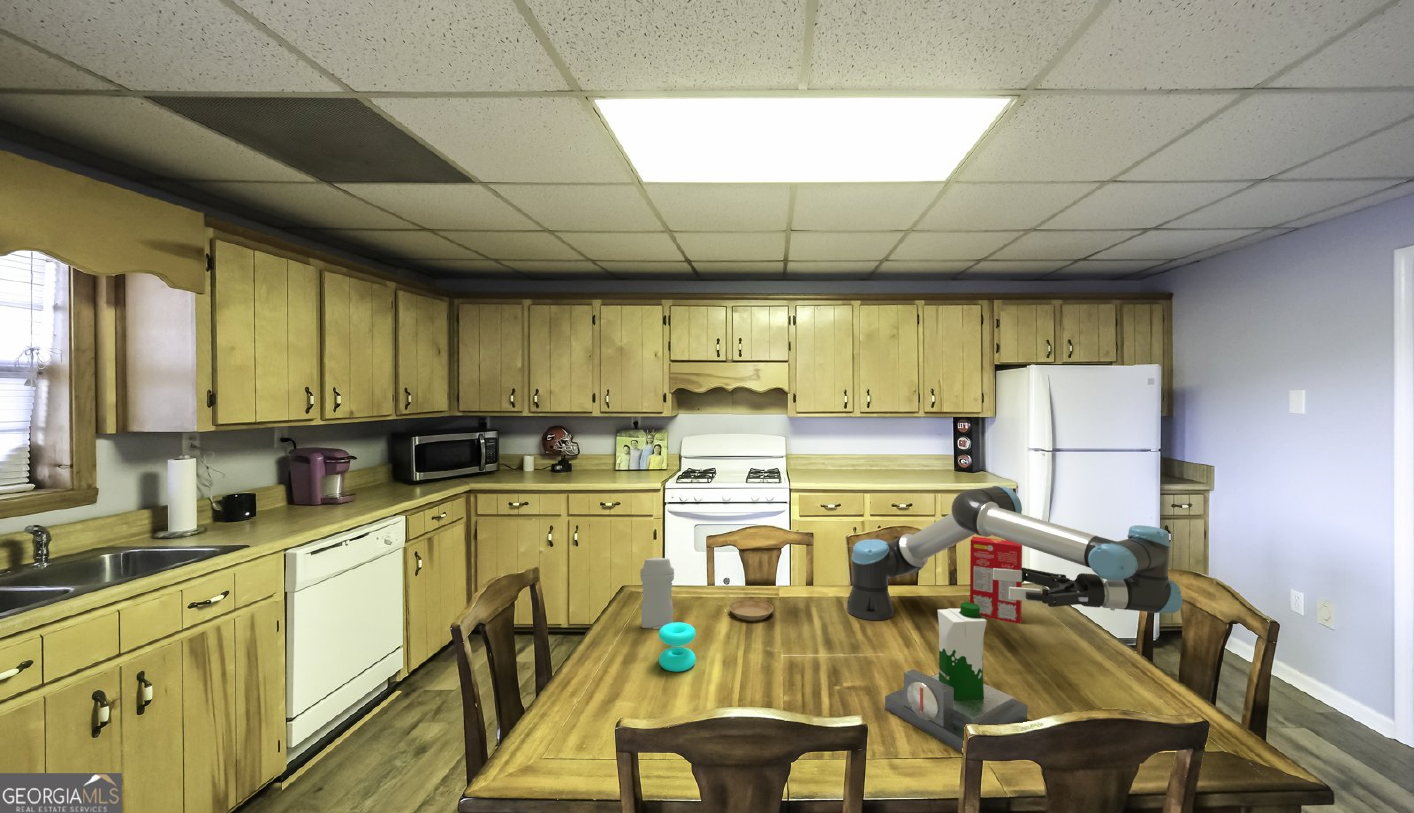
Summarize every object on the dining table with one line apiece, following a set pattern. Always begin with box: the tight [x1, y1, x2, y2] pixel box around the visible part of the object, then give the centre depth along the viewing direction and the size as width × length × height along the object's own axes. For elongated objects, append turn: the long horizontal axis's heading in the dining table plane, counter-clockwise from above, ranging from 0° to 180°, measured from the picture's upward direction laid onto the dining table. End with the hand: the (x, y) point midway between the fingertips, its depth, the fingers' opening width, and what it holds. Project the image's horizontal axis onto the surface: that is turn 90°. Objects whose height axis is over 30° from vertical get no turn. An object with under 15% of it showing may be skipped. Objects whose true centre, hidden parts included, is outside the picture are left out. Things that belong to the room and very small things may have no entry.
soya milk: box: [937, 602, 988, 700], centre depth 130 cm, size 9×9×20 cm
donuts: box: [658, 621, 697, 673], centre depth 152 cm, size 10×10×10 cm
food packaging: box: [969, 535, 1023, 624], centre depth 186 cm, size 15×5×25 cm, turn 58°
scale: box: [884, 668, 1028, 754], centre depth 129 cm, size 20×24×10 cm
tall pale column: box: [639, 557, 675, 630], centre depth 177 cm, size 11×4×22 cm, turn 95°
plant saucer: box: [728, 599, 774, 622], centre depth 187 cm, size 15×15×3 cm
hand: (1000, 583), depth 137 cm, fingers open, 13 cm apart
